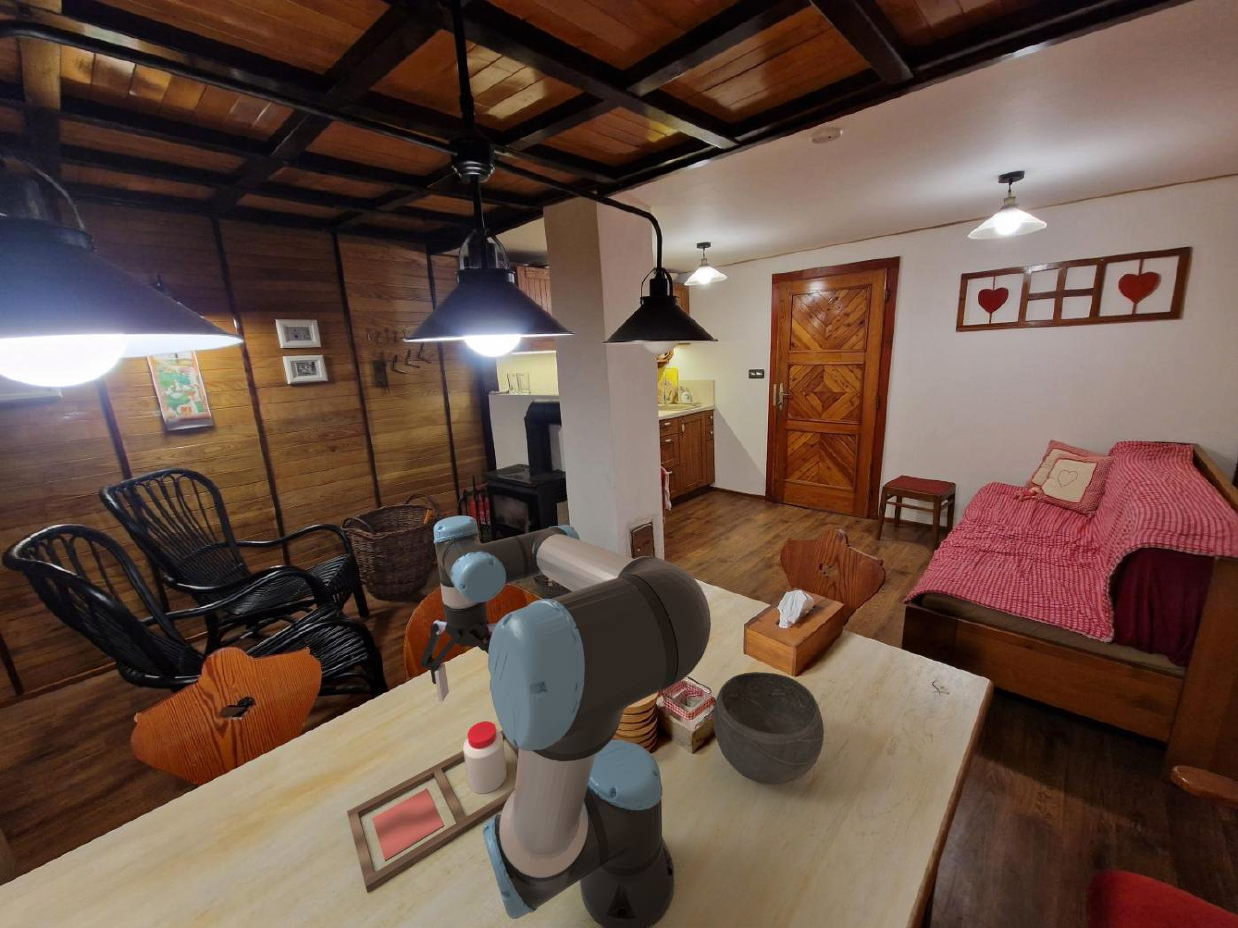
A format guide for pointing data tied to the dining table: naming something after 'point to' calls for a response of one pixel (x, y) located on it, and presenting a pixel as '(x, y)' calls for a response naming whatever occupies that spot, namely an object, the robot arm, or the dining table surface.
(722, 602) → the dining table surface
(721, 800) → the dining table surface
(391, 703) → the dining table surface
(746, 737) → the bowl
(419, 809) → the divided wooden frame
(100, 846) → the dining table surface
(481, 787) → the pill bottle
